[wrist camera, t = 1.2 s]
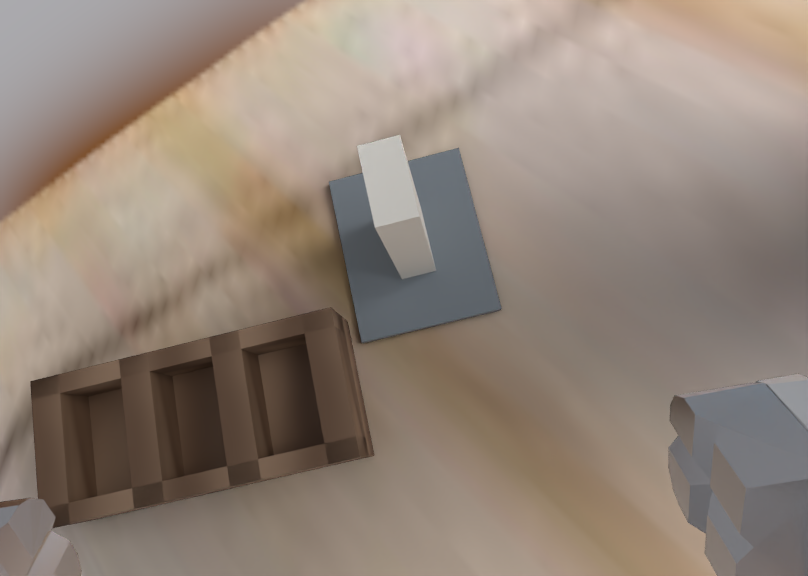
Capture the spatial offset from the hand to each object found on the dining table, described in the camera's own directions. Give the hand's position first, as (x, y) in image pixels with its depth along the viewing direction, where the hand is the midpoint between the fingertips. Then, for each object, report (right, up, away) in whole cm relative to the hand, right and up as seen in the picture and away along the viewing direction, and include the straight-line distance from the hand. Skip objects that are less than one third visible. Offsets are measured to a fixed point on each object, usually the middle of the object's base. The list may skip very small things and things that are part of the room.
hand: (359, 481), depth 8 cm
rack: (-10, -5, +28) cm, 30 cm away
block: (+1, +5, +29) cm, 29 cm away
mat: (+1, +5, +29) cm, 29 cm away
